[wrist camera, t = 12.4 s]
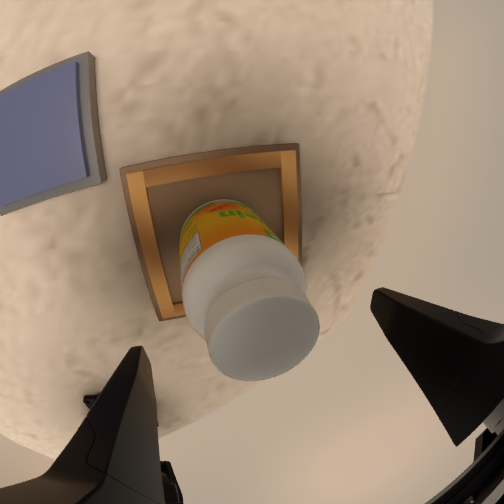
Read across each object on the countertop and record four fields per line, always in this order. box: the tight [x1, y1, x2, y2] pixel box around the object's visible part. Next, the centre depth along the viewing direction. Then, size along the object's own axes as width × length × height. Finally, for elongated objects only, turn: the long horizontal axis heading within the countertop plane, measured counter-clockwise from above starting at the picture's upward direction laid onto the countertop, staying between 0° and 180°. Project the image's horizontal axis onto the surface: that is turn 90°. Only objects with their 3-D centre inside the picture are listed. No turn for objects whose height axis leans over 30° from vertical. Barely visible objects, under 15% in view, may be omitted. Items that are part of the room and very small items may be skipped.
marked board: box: [120, 143, 302, 321], centre depth 17 cm, size 11×11×1 cm
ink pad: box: [0, 51, 107, 216], centre depth 11 cm, size 8×8×2 cm
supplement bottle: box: [179, 199, 320, 381], centre depth 13 cm, size 5×5×10 cm
